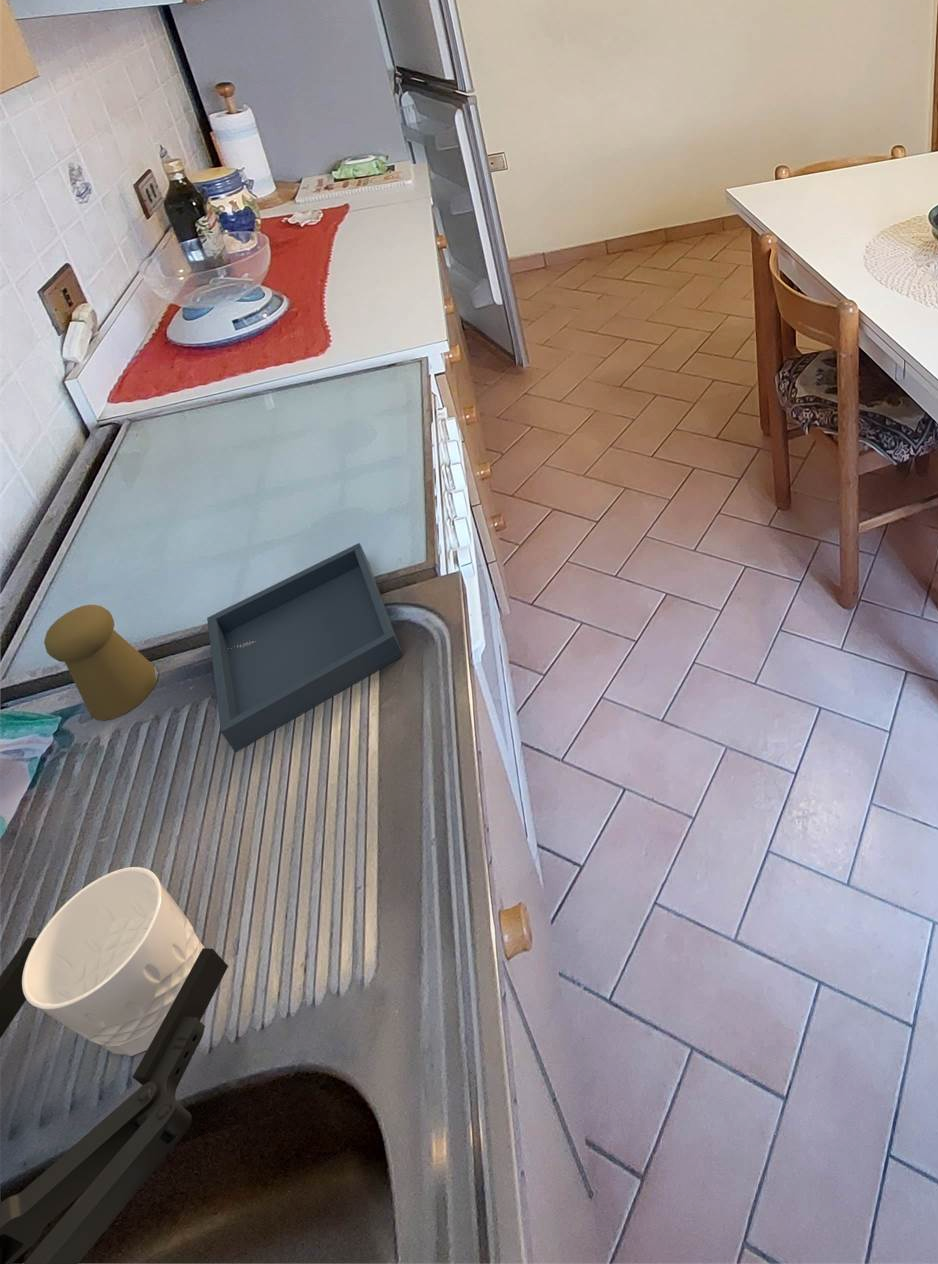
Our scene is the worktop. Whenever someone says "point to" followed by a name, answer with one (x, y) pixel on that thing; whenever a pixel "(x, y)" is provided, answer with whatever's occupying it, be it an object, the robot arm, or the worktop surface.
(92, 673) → the cork
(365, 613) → the shallow grey tray
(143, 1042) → the white cup
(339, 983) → the worktop surface
